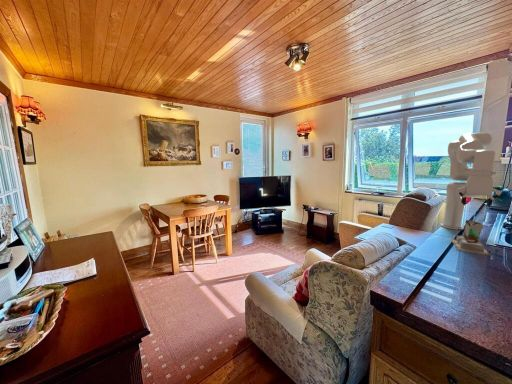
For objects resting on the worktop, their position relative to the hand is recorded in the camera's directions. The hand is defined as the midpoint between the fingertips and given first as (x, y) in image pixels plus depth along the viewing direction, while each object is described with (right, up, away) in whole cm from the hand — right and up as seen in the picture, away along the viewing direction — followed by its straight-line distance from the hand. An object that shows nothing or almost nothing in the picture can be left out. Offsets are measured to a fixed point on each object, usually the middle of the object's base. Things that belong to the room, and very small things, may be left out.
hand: (475, 205), depth 120 cm
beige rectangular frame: (-2, -23, +2) cm, 23 cm away
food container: (-1, -20, +1) cm, 20 cm away
